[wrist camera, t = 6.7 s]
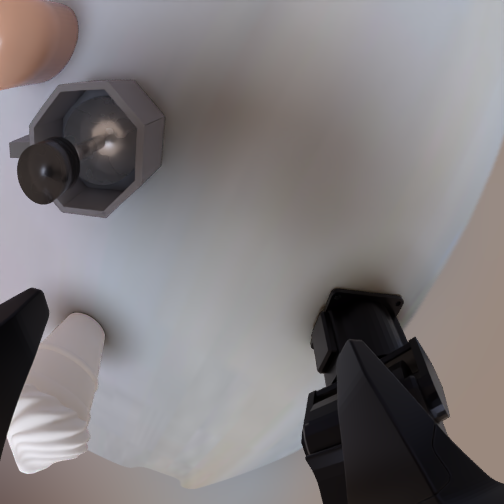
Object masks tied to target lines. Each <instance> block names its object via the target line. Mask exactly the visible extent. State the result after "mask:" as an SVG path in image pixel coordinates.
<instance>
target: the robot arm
mask: <svg viewBox="0 0 504 504" xmlns="http://www.w3.org/2000/svg"><path fill="white" fill-rule="evenodd" d="M336 295H339V296H337V297H335V296H336ZM398 301H399V302H398ZM396 302H397V303H396ZM403 303H404V301H403V299H402V297H401V296H396V295H387V294H378V293H369V292H361V291H352V290H344V289H335V290H333V291H332V292H331V294H330V296H329V299H328V301H327V304H326V306H325V309H324V311H322V312H321V313H320V315H319V317H318V320H317V322H316V325H315V327H314V329H313V332H312V340H311V348H312V349H314V353H315V359H316V365H317V371H318V372H319V373H323V374H324V377H325V383H326V387H325V388H322V389H320V390H318V391H316V390H315V391H313V392H311V393H309V395H308V402H307V408H306V413H305V419H304V425H303V430H302V440H301V443H302V446H303V449H304V452H305V454H306V457H305V458H306V461H307V462H308V464H309V466H310V467H311V469H312V470H313V473H314V475H315V477H316V479H317V482H318V486H319V489H320V493H321V497H322V501H323V504H504V484H503V483H500V482H498V481H495V480H494V479H492V478H490V477H489V476H488V475H487V474H486V473H485V472H483V470H482V469H480V468H479V467H478V466H477V465H476V464H475V463H474V462H473V461H472V460H471V459H470V458H469V457H468V456H467V455H466V454H465V453H464V452H463V451H462V450H461V449H460V448H459V447H458V446H457V445H456V444H455V443H454V442H453V441H452V440H451V439H450V438H449V437H448V435H447V432H446V429H445V427H444V424H443V420H445V419H447V418H449V417H450V414H449V410H448V406H447V402H446V398H445V394H444V391H443V387H442V385H441V382H440V380H439V378H438V376H437V374H436V371H435V369H434V367H433V365H432V363H431V362H430V360H429V358H428V356H427V355H426V353H425V351H424V350H423V348H422V347H421V345H420V343H419V342H418V340H417V339H416V337H414V338H412V339H410V340H409V342H408V341H407V339H406V337H405V335H404V332H403V330H402V328H401V326H400V323H399V321H398V319H397V317H396V316H397V314H398V313H399V311H400V309H401V307H402V305H403ZM48 318H49V308H48V305H47V302H46V299H45V296H44V293H43V291H42V290H39V289H36V288H29V289H27V290H26V291H24V292H22V293H20V294H18V295H16V296H15V297H13V298H11V299H9V300H7V301H6V302H4V303H2V304H0V459H1V455H2V451H3V447H4V444H5V440H6V437H7V433H8V430H9V427H10V424H11V421H12V417H13V414H14V411H15V409H16V406H17V403H18V400H19V397H20V394H21V392H22V389H23V386H24V384H25V381H26V379H27V376H28V374H29V371H30V369H31V366H32V364H33V361H34V359H35V356H36V353H37V350H38V347H39V344H40V341H41V338H42V335H43V332H44V329H45V326H46V324H47V321H48Z"/></svg>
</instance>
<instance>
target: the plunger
mask: <svg viewBox="0 0 504 504" xmlns="http://www.w3.org/2000/svg"><path fill="white" fill-rule="evenodd" d="M136 137H137V128H136V126H135V125H134V124H133V123H132V122H131V121H130V119H129V118H128V117H127V116H126V115H125V113H124V112H123V111H122V110H121V109H120V107H119V106H118V105H117V104H116V103H115V101H114V100H113V99H112V98H111V97H110V96H103V97H97V98H92V99H90V100H87V101H85V102H83V103H82V104H81V105H79V106H78V107H77V108H76V109H75V110H74V111H73V113H72V114H71V115H70V117H69V119H68V121H67V123H66V126H65V130H64V137H60V136H53V137H50V138H47V139H45V140H43V141H40V142H38V143H36V144H33V145H31V146H29V147H27V148H26V149H25V150H24V151H23V152H22V154H21V156H20V158H19V161H18V166H17V175H18V180H19V183H20V186H21V188H22V190H23V192H24V193H25V194H26V196H27V197H28V198H29V199H30V200H32V201H33V202H35V203H38V204H49V203H51V202H53V201H54V200H55V199H57V198H58V197H59V196H61V195H62V194H63V193H65V192H66V191H67V190H69V189H70V188H71V187H73V186H74V184H75V183H76V181H77V180H78V177H79V176H80V177H81V178H83V179H84V180H86V181H88V182H90V183H93V184H98V185H108V184H112V183H115V182H118V181H120V180H121V179H123V178H124V177H126V176H127V175H128V174H129V173H130V172H131V171H132V170H133V169H134V168H135V158H136Z"/></svg>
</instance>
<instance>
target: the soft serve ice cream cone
mask: <svg viewBox="0 0 504 504" xmlns="http://www.w3.org/2000/svg"><path fill="white" fill-rule="evenodd" d="M104 341H105V333H104V330H103V328H102V327H101V326H100V324H99V323H98V322H97V321H96V320H94V319H93V318H91V317H90V316H88V315H86V314H83V313H72V314H70V315H69V316H68V317H67V318H66V319H65V320H64V321H63V322H62V323H61V324H60V325H59V326H58V327H57V328H56V329H55V330H54V331H53V332H52V333H51V334H50V335H49V336H48V337H47V338H46V339H45V340H44V341H43V342H42V343H41V344H39V347H38V350H37V353H36V356H35V359H34V361H33V364H32V366H31V369H30V371H29V374H28V376H27V379H26V381H25V384H24V386H23V389H22V392H21V394H20V397H19V400H18V403H17V406H16V409H15V411H14V414H13V417H12V421H11V424H10V427H9V430H8V433H7V439H8V442H9V444H10V447H11V450H12V453H13V456H14V458H15V461H16V464H17V466H18V468H19V470H20V471H21V472H23V473H26V474H31V473H36V472H38V471H40V470H44V469H46V468H48V467H49V466H50V465H51V464H52V463H55V462H59V461H63V460H70V459H74V458H77V457H78V456H79V454H82V453H84V452H85V451H87V449H88V446H87V442H88V441H89V439H90V433H89V431H88V429H87V426H88V424H89V421H90V418H91V416H90V410H91V406H92V402H93V398H94V394H95V392H96V390H97V389H98V385H99V383H98V374H99V368H100V362H101V357H102V351H103V346H104Z"/></svg>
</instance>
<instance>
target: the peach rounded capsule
mask: <svg viewBox="0 0 504 504" xmlns="http://www.w3.org/2000/svg"><path fill="white" fill-rule="evenodd" d="M77 38H78V21H77V18H76V15H75V13H74V12H73V10H72V9H71V8H69V7H68V6H66V5H64V4H60V3H56V2H51V1H47V0H0V90H4V89H9V88H14V87H19V86H25V85H31V84H37V83H42V82H45V81H48V80H50V79H52V78H53V77H55V76H56V75H57V74H58V73H59V72H60V71H61V70H62V69H63V68H64V67H65V65H66V64H67V63H68V61H69V60H70V58H71V56H72V54H73V52H74V49H75V46H76V43H77Z"/></svg>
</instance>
